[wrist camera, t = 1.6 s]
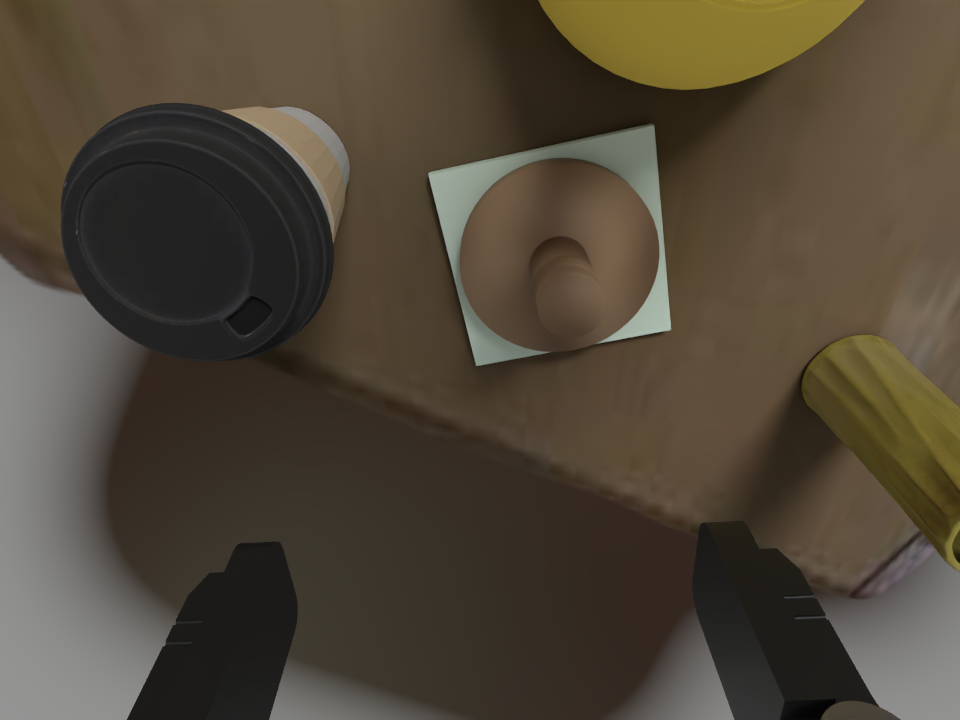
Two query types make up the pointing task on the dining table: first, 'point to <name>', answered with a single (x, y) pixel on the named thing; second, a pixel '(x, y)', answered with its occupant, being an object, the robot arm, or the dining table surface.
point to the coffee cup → (206, 225)
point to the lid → (558, 255)
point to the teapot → (694, 36)
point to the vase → (894, 430)
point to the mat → (467, 183)
